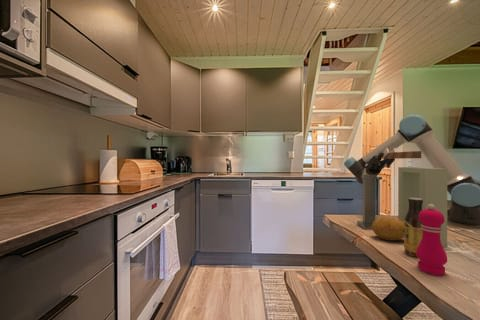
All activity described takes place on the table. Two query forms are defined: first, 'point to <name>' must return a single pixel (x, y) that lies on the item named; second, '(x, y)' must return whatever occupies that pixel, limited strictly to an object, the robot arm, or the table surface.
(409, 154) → the walnut bar
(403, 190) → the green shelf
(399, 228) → the potato
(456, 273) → the table surface
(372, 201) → the ridge pillar
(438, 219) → the pepper mill
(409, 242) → the sauce bottle
